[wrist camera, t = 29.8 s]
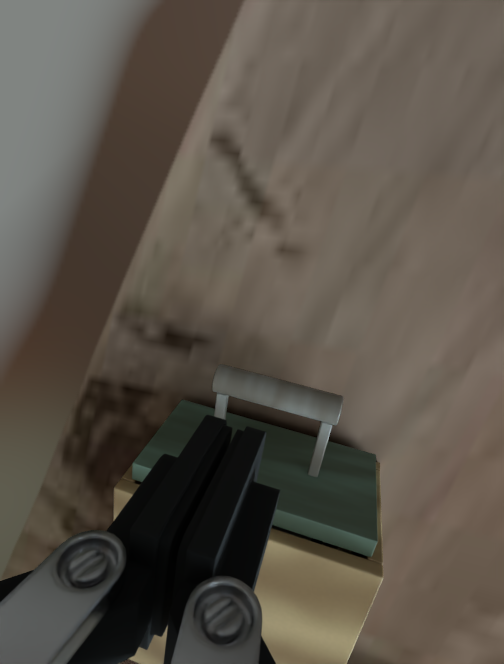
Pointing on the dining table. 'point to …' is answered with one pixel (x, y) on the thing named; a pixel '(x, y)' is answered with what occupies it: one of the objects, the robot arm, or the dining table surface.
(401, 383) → the dining table surface
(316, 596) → the cabinet
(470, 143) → the dining table surface
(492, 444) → the dining table surface
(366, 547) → the drawer
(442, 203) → the dining table surface
